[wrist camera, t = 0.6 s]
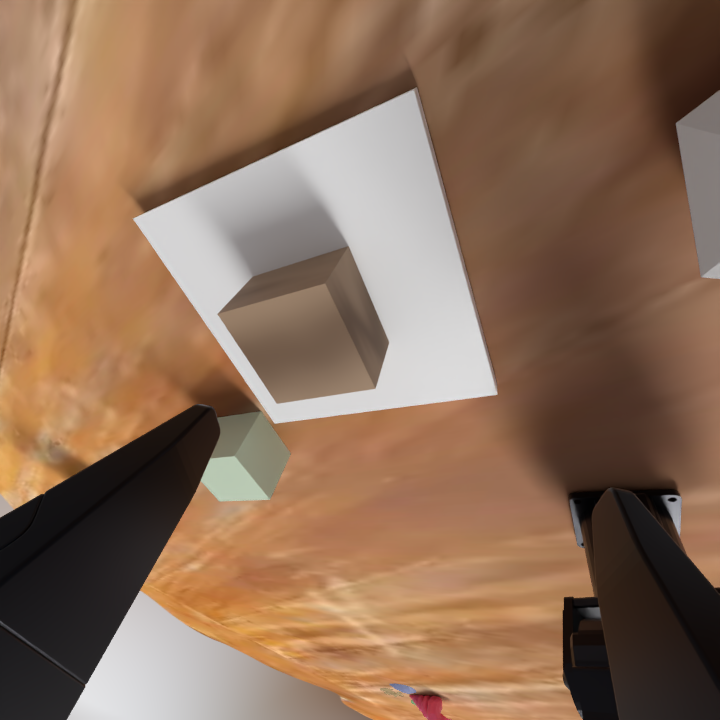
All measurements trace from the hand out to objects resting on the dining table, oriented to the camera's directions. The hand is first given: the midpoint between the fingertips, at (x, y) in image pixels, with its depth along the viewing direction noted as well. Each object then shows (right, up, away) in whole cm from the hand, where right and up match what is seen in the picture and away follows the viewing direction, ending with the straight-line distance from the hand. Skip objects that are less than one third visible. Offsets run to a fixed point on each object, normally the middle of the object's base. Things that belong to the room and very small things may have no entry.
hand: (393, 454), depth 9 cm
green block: (-10, -4, +24) cm, 27 cm away
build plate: (-3, +6, +14) cm, 16 cm away
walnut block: (-3, +5, +14) cm, 15 cm away
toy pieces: (+8, -55, +60) cm, 81 cm away
